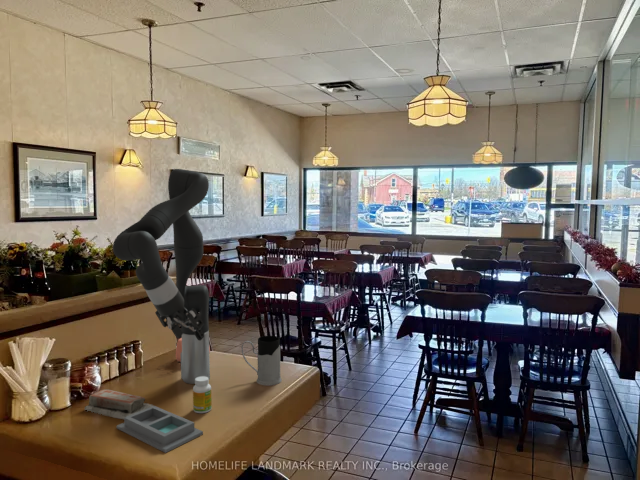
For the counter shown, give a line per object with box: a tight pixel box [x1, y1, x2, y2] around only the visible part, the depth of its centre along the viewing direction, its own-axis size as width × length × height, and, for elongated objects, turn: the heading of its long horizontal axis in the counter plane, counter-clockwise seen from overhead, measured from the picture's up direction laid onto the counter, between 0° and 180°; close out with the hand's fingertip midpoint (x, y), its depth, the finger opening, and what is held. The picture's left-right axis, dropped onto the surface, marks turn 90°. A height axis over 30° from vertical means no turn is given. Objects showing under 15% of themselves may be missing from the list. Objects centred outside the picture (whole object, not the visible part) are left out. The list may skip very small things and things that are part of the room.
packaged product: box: [84, 389, 154, 420], centre depth 149 cm, size 18×5×10 cm
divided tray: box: [116, 405, 204, 454], centre depth 135 cm, size 22×12×3 cm, turn 54°
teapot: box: [175, 337, 211, 363], centre depth 192 cm, size 12×18×10 cm, turn 170°
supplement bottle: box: [192, 376, 213, 414], centre depth 148 cm, size 5×5×10 cm
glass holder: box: [241, 335, 283, 386], centre depth 171 cm, size 9×14×15 cm, turn 80°
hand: (190, 337), depth 142 cm, fingers open, 8 cm apart
